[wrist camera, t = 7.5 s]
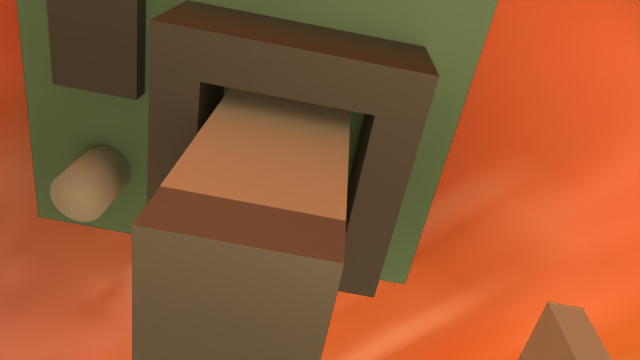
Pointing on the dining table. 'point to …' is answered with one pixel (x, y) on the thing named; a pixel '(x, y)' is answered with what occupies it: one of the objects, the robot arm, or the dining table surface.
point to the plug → (245, 236)
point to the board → (254, 76)
